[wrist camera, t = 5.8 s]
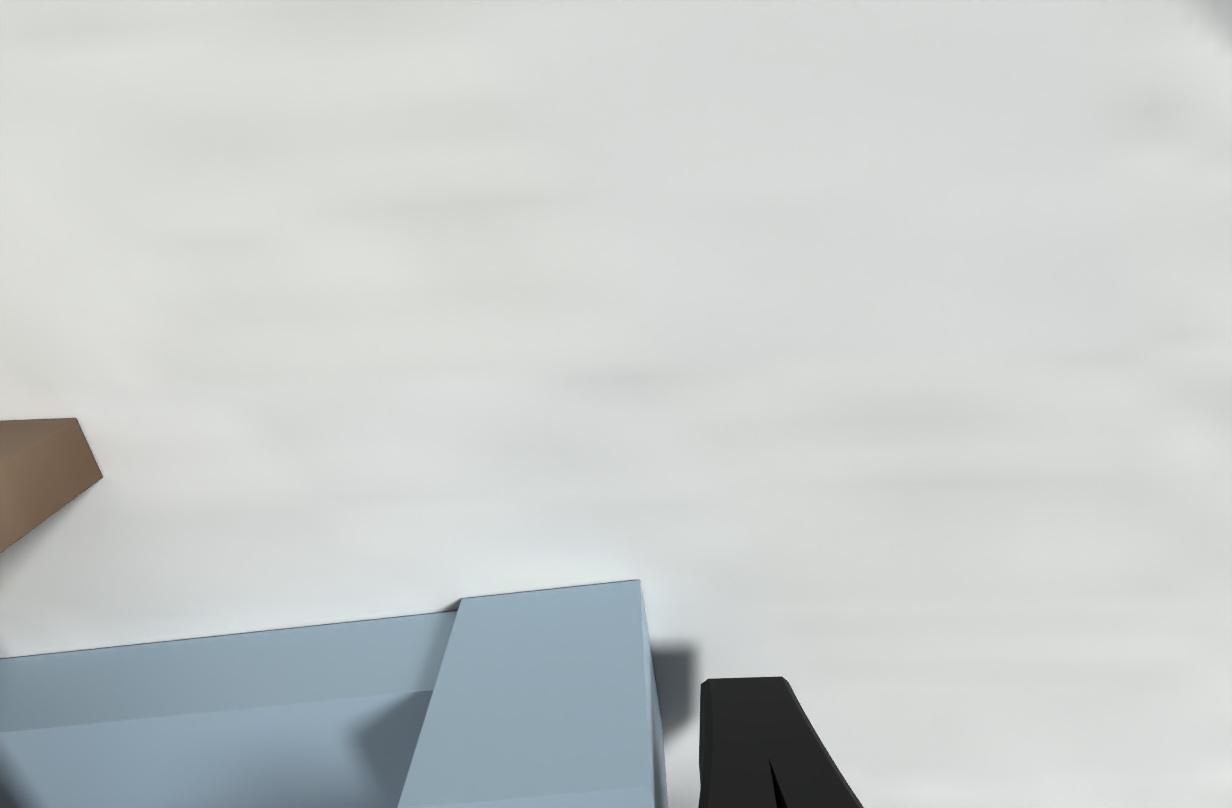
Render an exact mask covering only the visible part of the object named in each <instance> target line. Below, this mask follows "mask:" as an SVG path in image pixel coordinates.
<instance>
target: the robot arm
mask: <svg viewBox="0 0 1232 808" xmlns="http://www.w3.org/2000/svg"><path fill="white" fill-rule="evenodd" d="M699 769H700V782H701V790H700V799H699V808H864V807H863V806H862V804H861V803H860V801H859V800H858V798H857V797H856V795H855V794H854V792H853V791H852V789H851V788H850V786H849V785H848V783H847V782H846V780H845V779H844V777H843V776H842V774H841V772H840V771H839V769H838V768H837V766H836V765H835V763H834V761H833V760H832V758H831V756H830V755H829V753H828V751H827V750H826V748H825V747H824V745H823V743H822V742H821V740H820V738H819V737H818V735H817V733H816V731H815V730H814V728H813V726H812V725H811V723H810V721H809V719H808V718H807V716H806V714H805V712H804V711H803V709H802V707H801V705H800V703H799V701H798V699H797V698H796V696H795V694H794V692H793V690H792V688H791V686H790V684H789V682H788V681H787V680H785V679H784V678H783V677H752V678H719V679H707V680H706V681H705V682H703V683H702V684H701V695H700V740H699Z"/></svg>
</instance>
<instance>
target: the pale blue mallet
mask: <svg viewBox="0 0 1232 808" xmlns="http://www.w3.org/2000/svg"><path fill="white" fill-rule="evenodd" d="M0 808H668V799H667V785H666V772H665V758H664V745H663V731H662V721H661V715H660V708H659V702H658V695H657V688H656V682H655V675H654V669H653V662H652V656H651V649H650V643H649V636H648V629H647V623H646V616H645V610H644V603H643V597H642V590H641V584H640V580H634V581H625V582H616V583H606V584H597V585H587V586H578V587H569V588H559V589H550V590H540V591H531V592H522V593H512V594H503V595H493V596H484V597H475V598H465V599H461V602H460V606H459V609H458V611H453V612H443V613H434V614H424V615H415V616H405V617H396V618H386V619H377V620H367V621H358V622H348V623H339V624H330V625H320V626H311V627H301V628H292V629H282V630H273V631H263V632H254V633H244V634H235V635H225V636H216V637H206V638H197V639H187V640H178V641H168V642H159V643H149V644H140V645H130V646H121V647H111V648H102V649H92V650H83V651H73V652H64V653H54V654H45V655H35V656H26V657H16V658H7V659H0Z"/></svg>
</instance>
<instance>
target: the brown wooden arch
mask: <svg viewBox="0 0 1232 808" xmlns="http://www.w3.org/2000/svg"><path fill="white" fill-rule="evenodd" d="M102 477H103V476H102V474H101V472H100V470H99V468H98V465H97V463H96V461H95V459H94V457H93V454H92V452H91V450H90V448H89V446H88V443H87V441H86V439H85V437H84V435H83V432H82V430H81V428H80V426H79V424H78V421H77V419H76V418H61V419H35V420H9V421H0V553H1V552H3V551H4V550H5V549H7V548H8V547H9V546H11V545H12V544H13V543H15V542H16V541H17V540H19V539H20V538H21V537H23V536H24V535H26V534H27V533H28V532H30V531H31V530H32V529H34V528H35V527H36V526H38V525H39V524H40V523H42V522H43V521H44V520H46V519H47V518H48V517H50V516H51V515H52V514H54V513H55V512H57V511H58V510H59V509H61V508H62V507H63V506H65V505H66V504H67V503H69V502H70V501H71V500H73V499H74V498H75V497H77V496H78V495H79V494H81V493H82V492H83V491H85V490H86V489H88V488H89V487H90V486H92V485H93V484H94V483H96V482H97V481H98V480H100V479H101V478H102Z"/></svg>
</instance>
